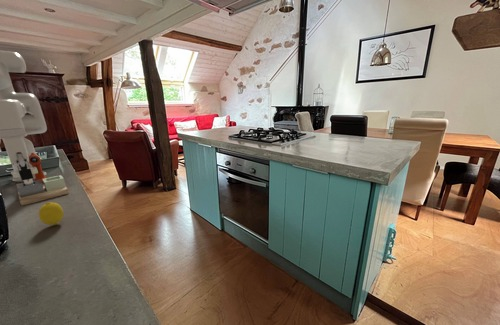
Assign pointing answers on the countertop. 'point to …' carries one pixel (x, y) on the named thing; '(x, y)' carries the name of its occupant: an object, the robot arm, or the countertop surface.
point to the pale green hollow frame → (54, 183)
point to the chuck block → (30, 188)
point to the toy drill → (37, 166)
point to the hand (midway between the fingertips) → (26, 176)
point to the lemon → (51, 213)
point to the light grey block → (28, 181)
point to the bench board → (43, 195)
